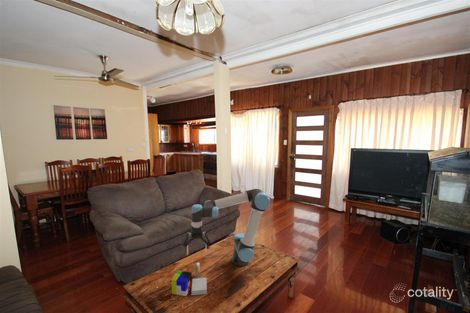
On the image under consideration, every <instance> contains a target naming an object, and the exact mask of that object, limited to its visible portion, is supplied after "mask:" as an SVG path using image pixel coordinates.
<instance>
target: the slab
mask: <svg viewBox="0 0 470 313" xmlns="http://www.w3.org/2000/svg"><path fill="white" fill-rule="evenodd" d="M207 279H208V277H199V278H195V277H194V278H192V286H191V296H198V295H207V294H208V291H207V290H208V289H207V286H208V285H207V283H208V281H207Z"/></svg>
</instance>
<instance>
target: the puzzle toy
mask: <svg viewBox="0 0 470 313" xmlns="http://www.w3.org/2000/svg"><path fill="white" fill-rule="evenodd" d="M192 274H193V272H191V271H184V270H178V271H177V272H176V273H175V275H174V276H173V277H172V279H171V294H173V295H179V296H181V297H182V296H183V297H187V295H188V293H189V292H190V290H191V289H192V280H193V275H192Z"/></svg>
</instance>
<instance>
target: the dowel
mask: <svg viewBox="0 0 470 313" xmlns="http://www.w3.org/2000/svg"><path fill="white" fill-rule="evenodd" d="M200 268H201V267H200V262H195V263H194V279H195V278H201V277H200V275H201V274H200Z"/></svg>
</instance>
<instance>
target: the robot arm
mask: <svg viewBox="0 0 470 313" xmlns="http://www.w3.org/2000/svg"><path fill="white" fill-rule="evenodd" d="M242 203H250V208H251V211H250V215H249V217H248V220H247V224H246V227H245V230H244V232H239V233H236V234H234V235H233V253H232V256H231V263H232V264H233V265H235V266H238V267H244V266H247V265H248V264H249V263H250V261H251V260H253V258H254V257H255V251H254V249H255V244H256V243H255V238H256V234H257V232H258V228H259V225H260V222H261V218H262V217H263V216H262V215H263V213H265V212H266V210H267V208H269V207H270V203H271V199H270V196H269V195H268V194H267V193H265V192H264V191H263V190H262V189H260V188H251V189H248V190H245V191H243V192H242V193H237V194H234V195H230V196H225V197H222V198H219V199H214V200H205V202H204V205H203V206H202V204H193V205H192V206H191V211H190V214H191V232H189V231H187V234H186V237H185V238H184V240H183V243H182V247H183V246H184V249H185V251H186V256H188V255H189V244H190V243H191V242H192V240H194V239H200V240H201V241H202V242H204V244H205V254H208V253H207V250H208V249H209V245H211V239H210V238H209V235H208V234H207V230H205V231H203V219H209V218H218V217H219V210H220V209H223V208H224V209H225V208H228V207H232V206H235V205H238V204H242ZM203 235H204V236H203ZM190 236H191V237H190ZM189 237H190V238H189Z"/></svg>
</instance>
